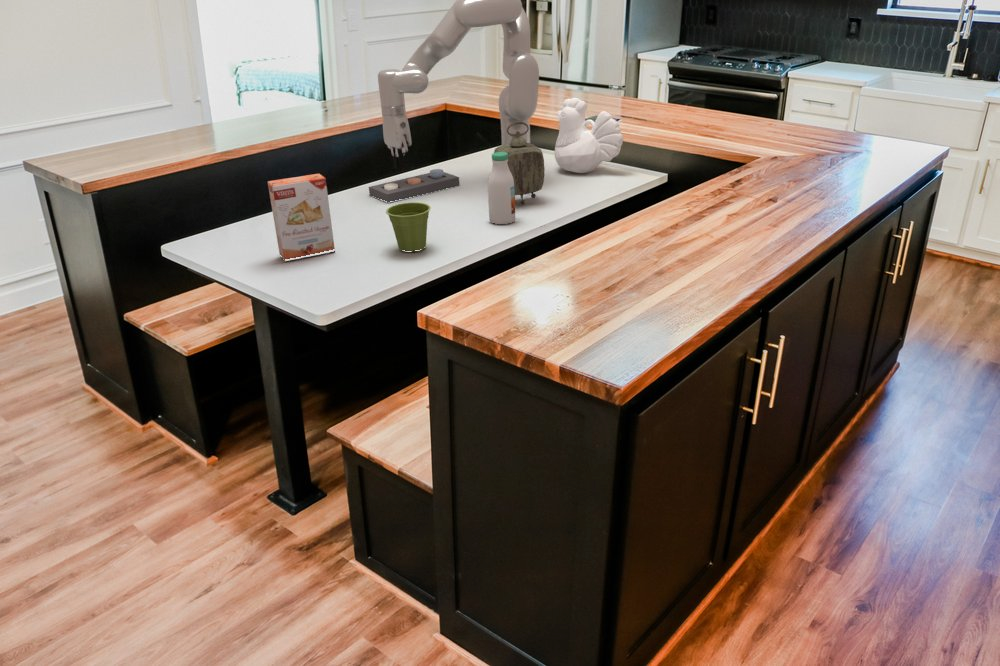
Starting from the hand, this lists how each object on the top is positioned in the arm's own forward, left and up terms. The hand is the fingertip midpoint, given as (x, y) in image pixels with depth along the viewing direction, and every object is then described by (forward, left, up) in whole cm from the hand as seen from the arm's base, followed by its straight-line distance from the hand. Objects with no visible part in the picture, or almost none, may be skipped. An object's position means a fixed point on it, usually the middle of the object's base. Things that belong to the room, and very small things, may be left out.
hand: (399, 167), depth 257 cm
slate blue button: (0, -14, -7) cm, 16 cm away
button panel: (0, -5, -9) cm, 10 cm away
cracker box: (-31, +49, -9) cm, 58 cm away
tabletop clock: (-36, -21, -9) cm, 43 cm away
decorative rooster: (-25, -60, -9) cm, 66 cm away
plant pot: (-47, +26, -9) cm, 54 cm away
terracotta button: (0, -5, -8) cm, 10 cm away
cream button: (0, +4, -8) cm, 9 cm away
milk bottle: (-46, -6, -9) cm, 47 cm away
